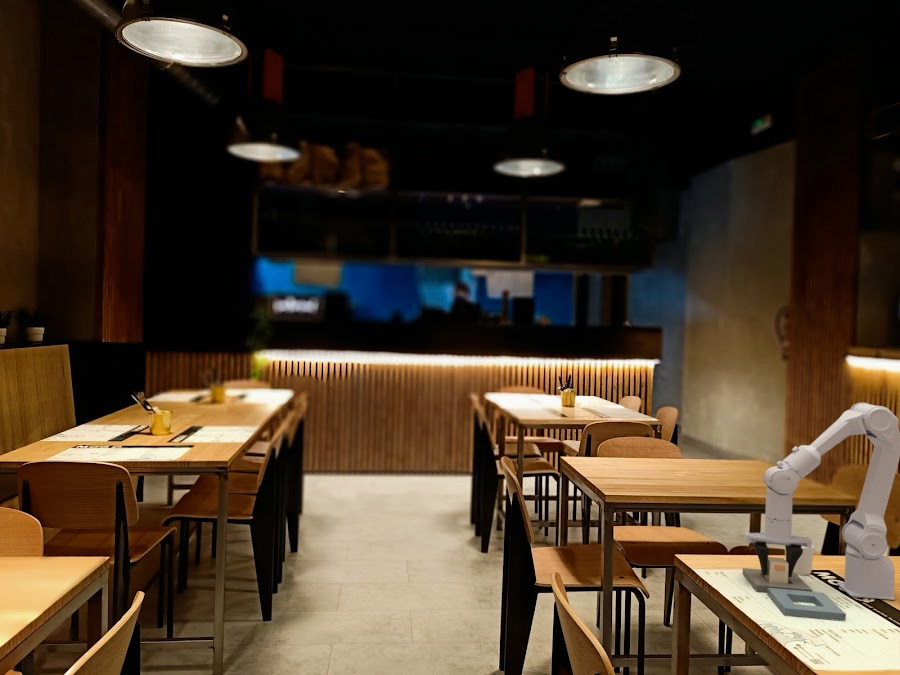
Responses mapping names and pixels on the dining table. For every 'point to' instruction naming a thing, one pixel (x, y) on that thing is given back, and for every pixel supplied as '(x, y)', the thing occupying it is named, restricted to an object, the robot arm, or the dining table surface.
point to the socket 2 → (821, 611)
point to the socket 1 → (761, 585)
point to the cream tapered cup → (804, 561)
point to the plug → (777, 570)
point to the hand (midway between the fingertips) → (776, 574)
